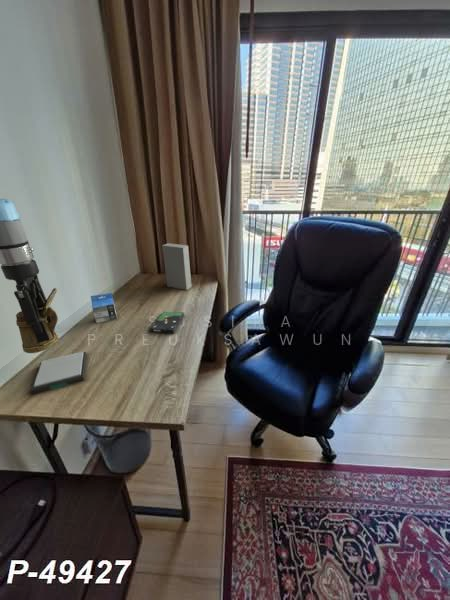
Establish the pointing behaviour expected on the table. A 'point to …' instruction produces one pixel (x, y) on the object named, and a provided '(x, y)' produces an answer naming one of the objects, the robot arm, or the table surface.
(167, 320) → the disk drive
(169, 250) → the upright grey slab
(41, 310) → the wooden mug
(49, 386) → the scale
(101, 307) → the tape cartridge
